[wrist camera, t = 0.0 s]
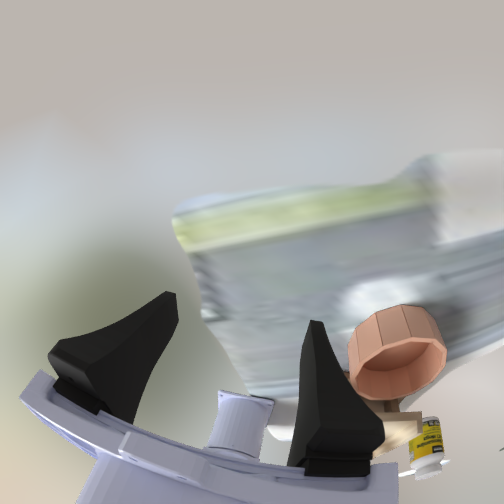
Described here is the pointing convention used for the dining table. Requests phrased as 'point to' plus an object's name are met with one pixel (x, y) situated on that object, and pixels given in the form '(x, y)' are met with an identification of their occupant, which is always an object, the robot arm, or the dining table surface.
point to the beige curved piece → (399, 429)
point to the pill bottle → (427, 450)
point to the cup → (395, 353)
